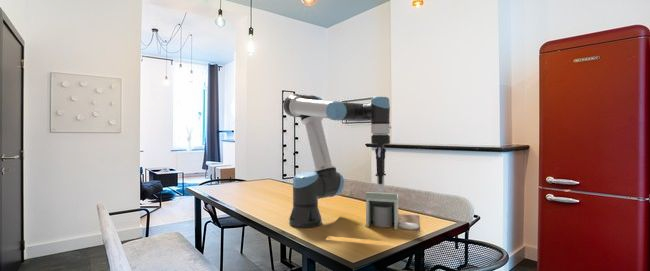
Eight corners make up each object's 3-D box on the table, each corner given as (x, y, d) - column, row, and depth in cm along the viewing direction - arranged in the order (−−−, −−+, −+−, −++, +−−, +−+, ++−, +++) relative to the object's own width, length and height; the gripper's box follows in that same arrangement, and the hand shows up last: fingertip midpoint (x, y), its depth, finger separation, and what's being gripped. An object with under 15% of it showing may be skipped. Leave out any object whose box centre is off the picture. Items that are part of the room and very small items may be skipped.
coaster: (398, 228, 137) (398, 227, 137) (399, 222, 145) (399, 221, 145) (419, 230, 135) (419, 229, 135) (419, 224, 143) (419, 223, 143)
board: (365, 230, 139) (365, 226, 139) (372, 215, 164) (372, 212, 164) (420, 234, 133) (420, 231, 133) (419, 218, 158) (419, 215, 158)
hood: (366, 226, 139) (366, 192, 139) (370, 219, 151) (370, 187, 150) (396, 229, 135) (396, 194, 135) (398, 221, 147) (398, 189, 147)
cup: (392, 231, 138) (392, 208, 138) (372, 229, 140) (372, 207, 140) (392, 225, 146) (392, 203, 146) (373, 224, 148) (373, 202, 148)
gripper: (388, 134, 124) (388, 195, 125) (390, 134, 137) (391, 189, 137) (369, 134, 126) (369, 194, 127) (373, 134, 139) (373, 188, 139)
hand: (380, 191), depth 132 cm, fingers closed
